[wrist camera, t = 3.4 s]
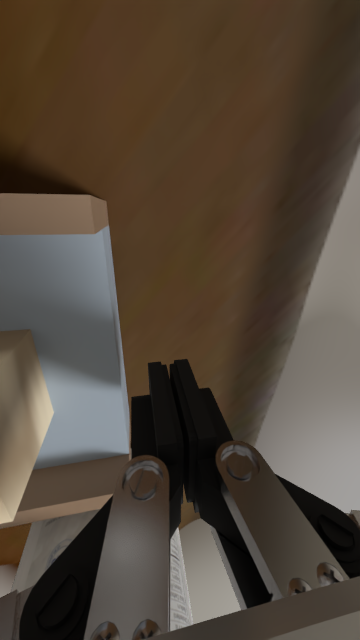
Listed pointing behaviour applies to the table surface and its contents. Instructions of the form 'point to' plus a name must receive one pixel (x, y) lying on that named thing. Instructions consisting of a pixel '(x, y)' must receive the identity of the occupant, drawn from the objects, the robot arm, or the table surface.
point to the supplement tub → (61, 531)
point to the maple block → (20, 416)
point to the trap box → (67, 346)
